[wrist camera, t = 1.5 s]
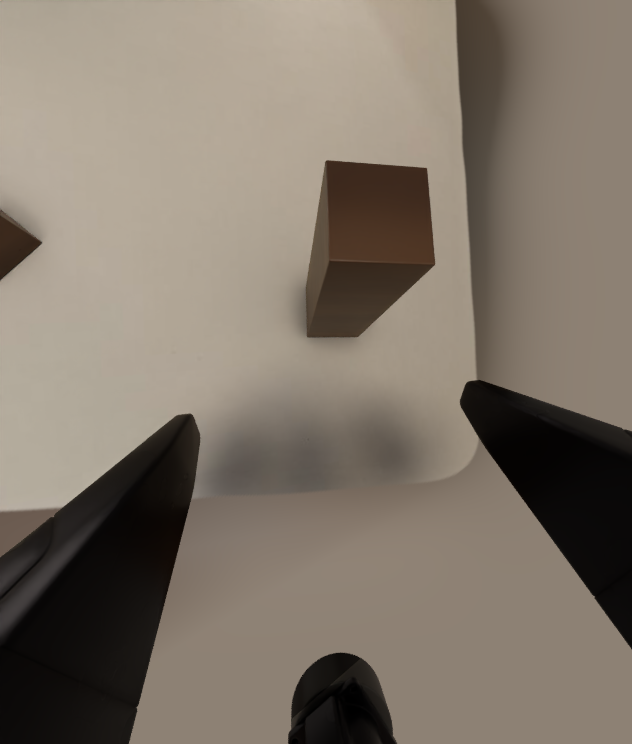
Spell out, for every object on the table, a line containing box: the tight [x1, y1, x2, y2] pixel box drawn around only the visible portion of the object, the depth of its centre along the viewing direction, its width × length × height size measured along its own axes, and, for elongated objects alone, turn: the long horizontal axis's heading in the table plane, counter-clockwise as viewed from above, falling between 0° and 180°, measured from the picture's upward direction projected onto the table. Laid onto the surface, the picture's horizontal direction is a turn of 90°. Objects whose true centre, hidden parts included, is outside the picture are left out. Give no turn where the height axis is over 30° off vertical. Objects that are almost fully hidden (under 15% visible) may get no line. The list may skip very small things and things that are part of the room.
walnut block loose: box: [306, 160, 435, 337], centre depth 17 cm, size 4×4×12 cm
